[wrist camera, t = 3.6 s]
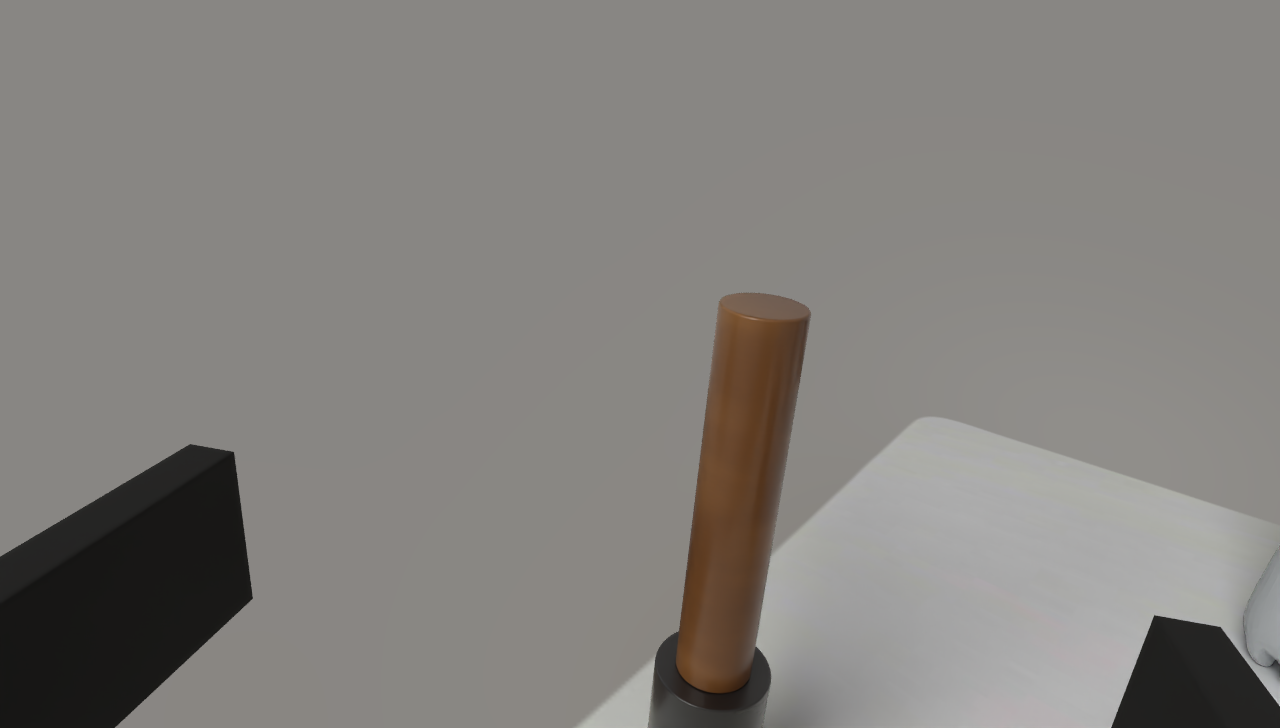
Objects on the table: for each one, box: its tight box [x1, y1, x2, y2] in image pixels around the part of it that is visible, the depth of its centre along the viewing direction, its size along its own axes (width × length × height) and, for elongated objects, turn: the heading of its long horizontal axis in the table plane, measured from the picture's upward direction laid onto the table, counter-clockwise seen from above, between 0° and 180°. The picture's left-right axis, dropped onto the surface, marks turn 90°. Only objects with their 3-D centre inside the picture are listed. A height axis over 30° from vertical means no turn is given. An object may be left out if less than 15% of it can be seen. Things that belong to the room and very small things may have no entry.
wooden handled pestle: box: [648, 293, 811, 728], centre depth 26 cm, size 4×4×20 cm
